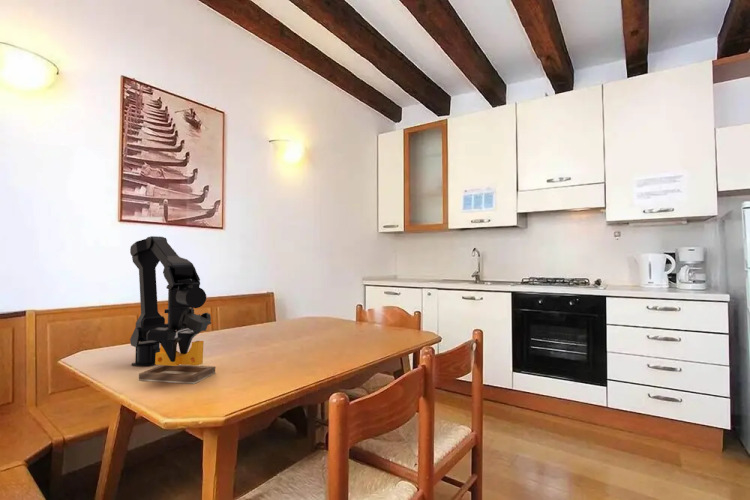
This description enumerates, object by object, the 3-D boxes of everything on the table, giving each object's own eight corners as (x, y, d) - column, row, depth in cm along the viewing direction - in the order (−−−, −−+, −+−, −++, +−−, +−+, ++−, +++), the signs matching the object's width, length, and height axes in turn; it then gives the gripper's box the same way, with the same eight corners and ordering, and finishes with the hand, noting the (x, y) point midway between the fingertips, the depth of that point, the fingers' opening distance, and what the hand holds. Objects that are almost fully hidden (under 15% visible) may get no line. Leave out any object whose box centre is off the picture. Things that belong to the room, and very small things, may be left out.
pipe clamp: (155, 364, 111) (156, 341, 111) (165, 361, 115) (166, 339, 115) (193, 366, 109) (194, 343, 109) (202, 363, 113) (203, 340, 114)
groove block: (138, 380, 108) (138, 373, 108) (163, 370, 118) (163, 364, 118) (194, 383, 106) (194, 376, 106) (215, 373, 116) (215, 366, 116)
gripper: (183, 310, 102) (182, 370, 102) (222, 302, 120) (221, 353, 120) (145, 309, 104) (144, 368, 103) (189, 301, 122) (189, 351, 122)
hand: (178, 359), depth 112 cm, fingers closed on pipe clamp, 4 cm apart
